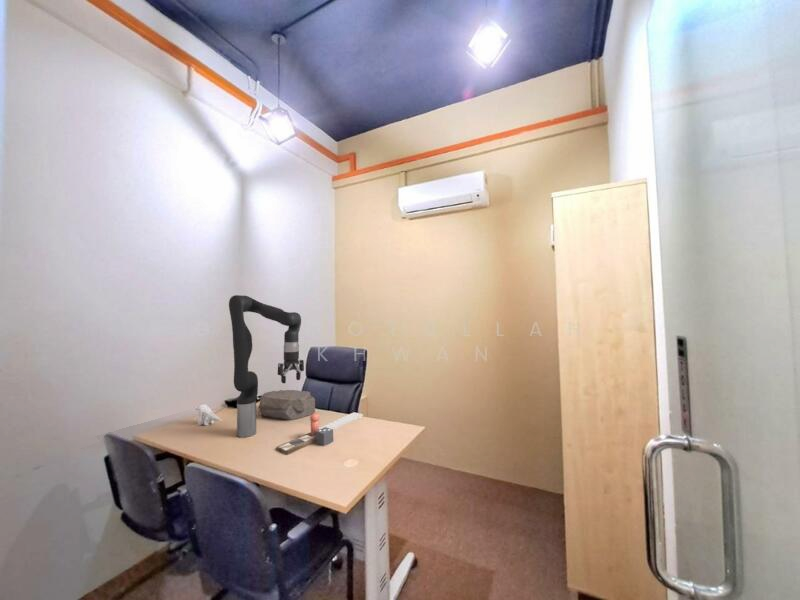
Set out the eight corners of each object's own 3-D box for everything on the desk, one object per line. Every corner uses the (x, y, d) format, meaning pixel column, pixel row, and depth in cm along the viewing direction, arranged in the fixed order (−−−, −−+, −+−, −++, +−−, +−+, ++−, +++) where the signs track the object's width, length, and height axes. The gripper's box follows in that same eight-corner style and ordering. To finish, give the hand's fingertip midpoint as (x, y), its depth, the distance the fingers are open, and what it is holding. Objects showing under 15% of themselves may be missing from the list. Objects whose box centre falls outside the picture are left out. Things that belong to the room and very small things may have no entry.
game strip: (276, 449, 144) (276, 446, 144) (313, 433, 162) (313, 430, 162) (287, 454, 139) (287, 451, 139) (324, 437, 157) (324, 434, 157)
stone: (324, 409, 201) (322, 386, 201) (296, 425, 176) (294, 399, 176) (281, 406, 215) (279, 384, 215) (250, 420, 190) (248, 397, 190)
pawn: (308, 434, 157) (308, 414, 157) (315, 431, 161) (315, 411, 161) (314, 436, 154) (313, 415, 154) (321, 433, 158) (321, 413, 158)
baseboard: (314, 430, 168) (327, 434, 163) (314, 425, 168) (327, 429, 163) (351, 413, 193) (363, 416, 188) (351, 409, 194) (363, 412, 188)
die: (315, 443, 151) (315, 430, 151) (325, 438, 155) (325, 426, 156) (324, 446, 147) (323, 433, 147) (333, 441, 152) (333, 429, 152)
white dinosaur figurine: (198, 418, 187) (200, 400, 186) (227, 427, 178) (229, 408, 178) (187, 422, 180) (189, 404, 180) (217, 431, 172) (218, 412, 172)
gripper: (298, 348, 166) (298, 377, 166) (274, 351, 155) (274, 383, 154) (307, 349, 162) (306, 379, 162) (283, 352, 150) (283, 385, 150)
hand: (291, 381), depth 158 cm, fingers open, 8 cm apart
